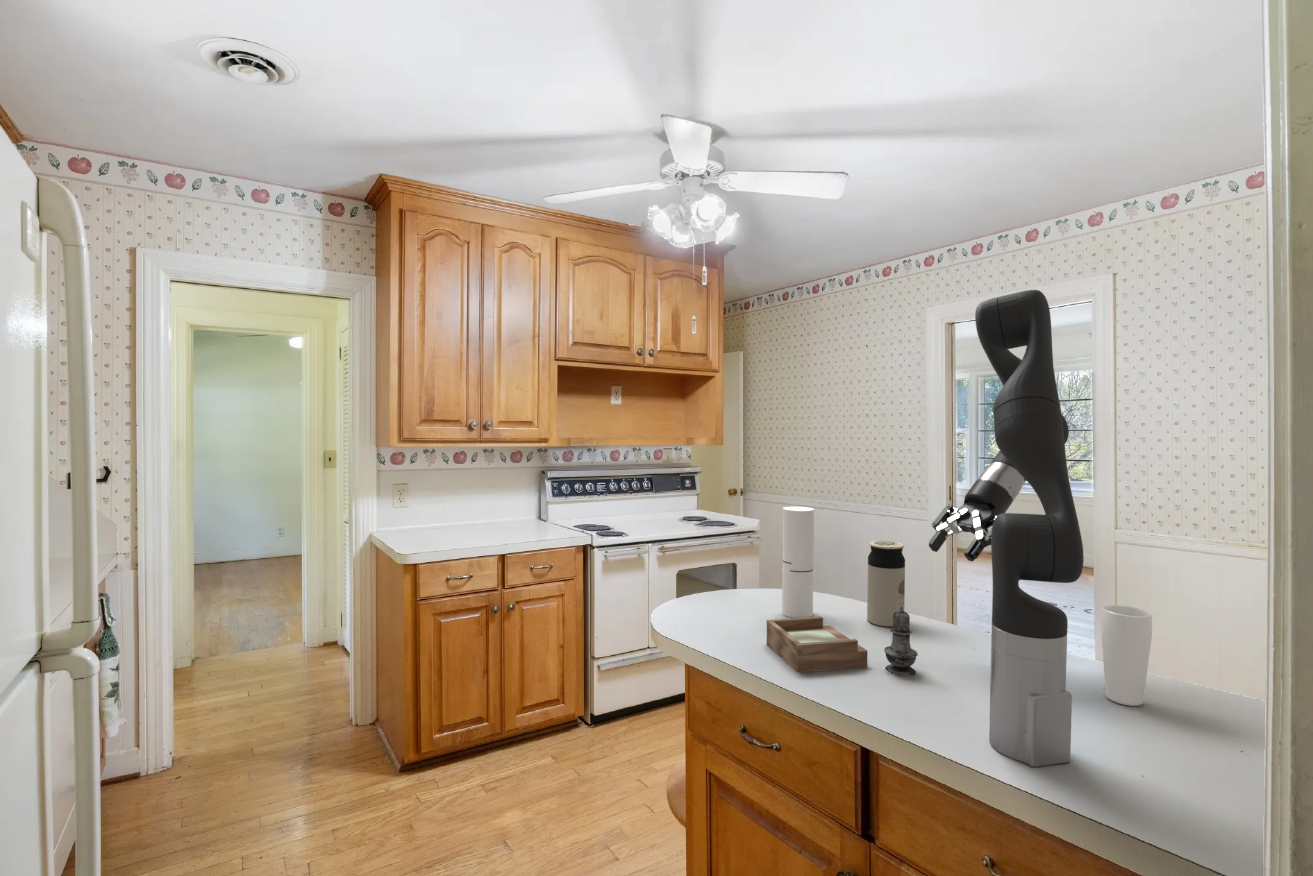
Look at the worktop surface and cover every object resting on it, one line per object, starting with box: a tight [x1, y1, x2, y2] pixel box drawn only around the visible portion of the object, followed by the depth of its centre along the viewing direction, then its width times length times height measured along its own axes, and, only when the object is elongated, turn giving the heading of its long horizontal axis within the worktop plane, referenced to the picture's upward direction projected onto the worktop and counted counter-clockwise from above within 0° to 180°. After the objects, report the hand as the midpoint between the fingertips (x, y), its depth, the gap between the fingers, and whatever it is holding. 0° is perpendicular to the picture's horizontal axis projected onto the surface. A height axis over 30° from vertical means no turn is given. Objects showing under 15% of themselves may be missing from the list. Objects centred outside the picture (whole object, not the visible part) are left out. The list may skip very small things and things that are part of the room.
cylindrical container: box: [781, 506, 815, 618], centre depth 154 cm, size 7×7×25 cm
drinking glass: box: [1100, 604, 1153, 707], centre depth 107 cm, size 7×7×15 cm
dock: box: [766, 616, 868, 673], centre depth 128 cm, size 15×14×5 cm
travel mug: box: [866, 540, 906, 628], centre depth 148 cm, size 8×8×18 cm
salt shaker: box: [883, 606, 919, 677], centre depth 120 cm, size 6×6×12 cm
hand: (949, 553), depth 124 cm, fingers open, 8 cm apart
